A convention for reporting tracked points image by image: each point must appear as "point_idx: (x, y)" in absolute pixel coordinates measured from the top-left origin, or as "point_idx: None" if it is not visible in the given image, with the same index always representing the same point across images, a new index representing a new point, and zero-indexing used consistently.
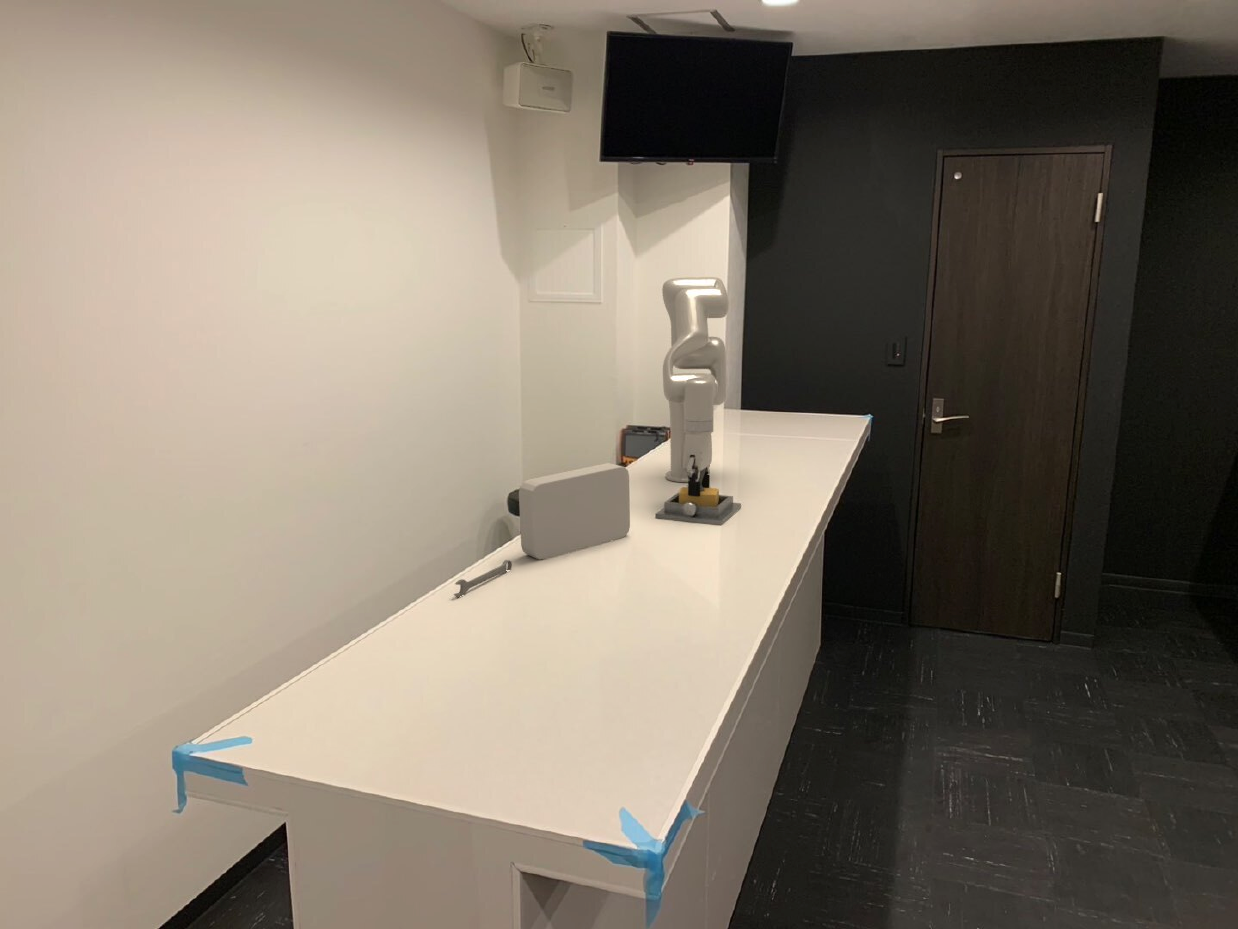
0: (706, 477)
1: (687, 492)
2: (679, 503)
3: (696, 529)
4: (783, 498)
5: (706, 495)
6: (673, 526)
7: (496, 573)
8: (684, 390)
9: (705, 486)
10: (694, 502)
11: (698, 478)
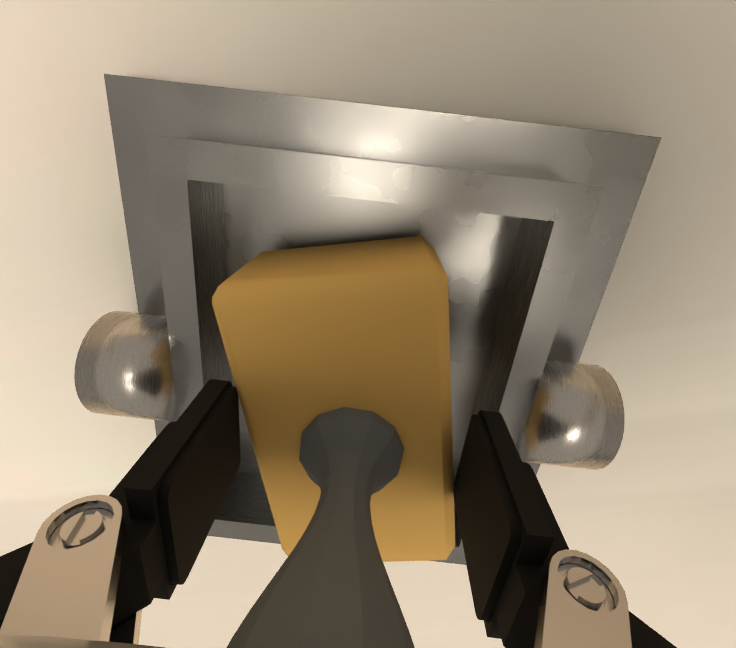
0: (476, 587)
1: (240, 372)
2: (181, 284)
3: (56, 394)
4: (683, 640)
5: (270, 500)
6: (30, 265)
7: None
8: None
9: (459, 490)
10: (161, 417)
11: (118, 634)
